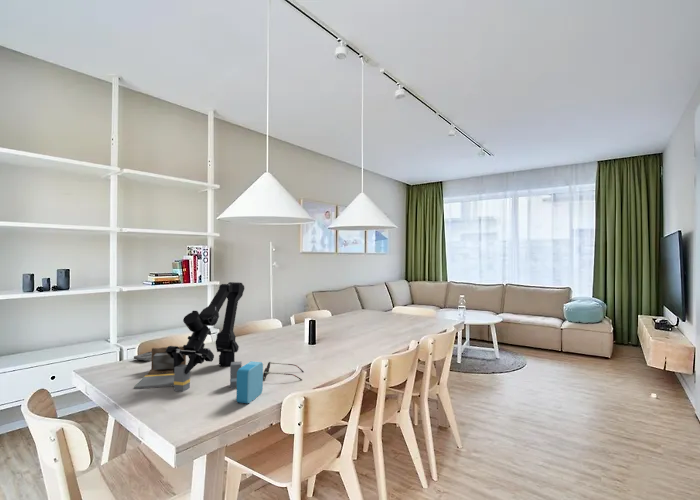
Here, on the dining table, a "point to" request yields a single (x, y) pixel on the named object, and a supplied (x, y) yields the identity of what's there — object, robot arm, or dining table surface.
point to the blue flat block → (249, 382)
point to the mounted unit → (163, 361)
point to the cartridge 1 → (181, 378)
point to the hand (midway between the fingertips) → (179, 373)
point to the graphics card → (144, 356)
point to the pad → (156, 381)
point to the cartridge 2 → (234, 373)
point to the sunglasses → (278, 373)
